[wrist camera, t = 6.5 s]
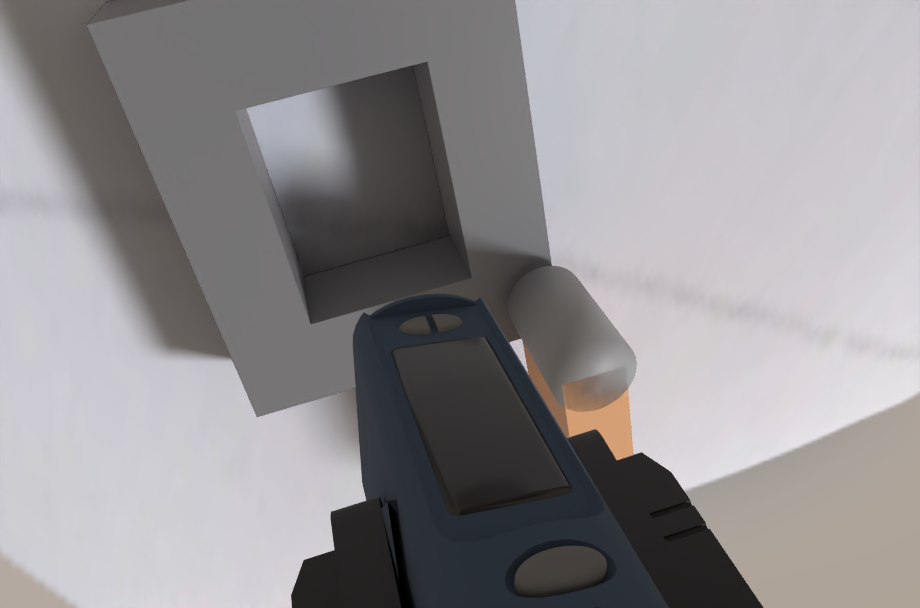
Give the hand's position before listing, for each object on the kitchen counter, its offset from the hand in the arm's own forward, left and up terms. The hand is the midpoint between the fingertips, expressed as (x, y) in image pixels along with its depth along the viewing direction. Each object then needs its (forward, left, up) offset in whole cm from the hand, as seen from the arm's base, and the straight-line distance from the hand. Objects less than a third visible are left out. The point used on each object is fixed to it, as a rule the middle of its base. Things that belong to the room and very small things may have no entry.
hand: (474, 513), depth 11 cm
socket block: (0, 0, -15) cm, 15 cm away
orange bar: (+9, +4, -11) cm, 15 cm away
